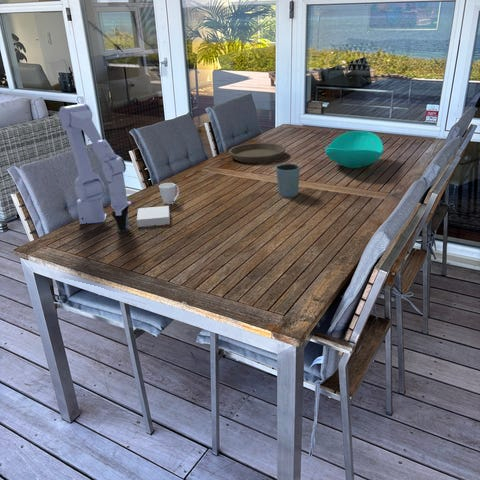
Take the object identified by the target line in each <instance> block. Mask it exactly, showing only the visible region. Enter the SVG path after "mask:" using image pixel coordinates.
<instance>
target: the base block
mask: <svg viewBox="0 0 480 480" xmlns="http://www.w3.org/2000/svg"><path fill="white" fill-rule="evenodd" d="M170 214H171V212H170V205H164V206H163V205H162V206H152V207H142V208H141V207H139V208H137V216H136V224H137V228H143V227H144V228H145V227H154V225H156V226H164V225H165V226H166V224H167V225H170V224H171V215H170Z"/></svg>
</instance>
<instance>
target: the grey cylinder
mask: <svg viewBox="0 0 480 480" xmlns="http://www.w3.org/2000/svg"><path fill="white" fill-rule="evenodd" d="M129 220H130V219H129V215H128V214H127V216H126V229H125V230H120V229H119V227H118V224H117V222H116V221H115V223H116V229H117V233H119V232H121V233H120V234H125V232H127V233H129V232H130V231H131V227H130V221H129ZM129 230H130V231H129ZM128 231H129V232H128Z"/></svg>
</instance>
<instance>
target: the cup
mask: <svg viewBox="0 0 480 480" xmlns="http://www.w3.org/2000/svg"><path fill="white" fill-rule="evenodd" d="M158 189H159V191H160V197H161V198H162V201H163V203H164V202H165V203H170V204H172V205H174V204H175V201H176V200H177V199H178V197H179V195H180V188H179V185H178V184H175V183H174V182H164V183H161V184H160V185H158ZM176 189H177V192H176ZM173 201H174V202H173ZM171 202H172V203H171ZM173 203H174V204H173Z"/></svg>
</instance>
